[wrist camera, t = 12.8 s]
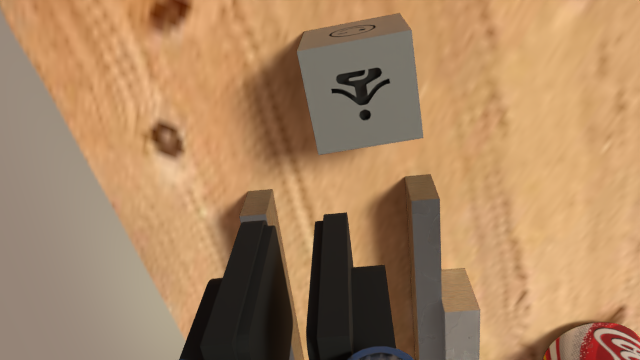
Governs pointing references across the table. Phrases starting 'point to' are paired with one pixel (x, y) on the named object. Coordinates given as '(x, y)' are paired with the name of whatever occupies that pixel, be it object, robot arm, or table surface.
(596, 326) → the soda can
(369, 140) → the dice cube
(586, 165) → the table surface
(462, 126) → the table surface
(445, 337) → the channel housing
